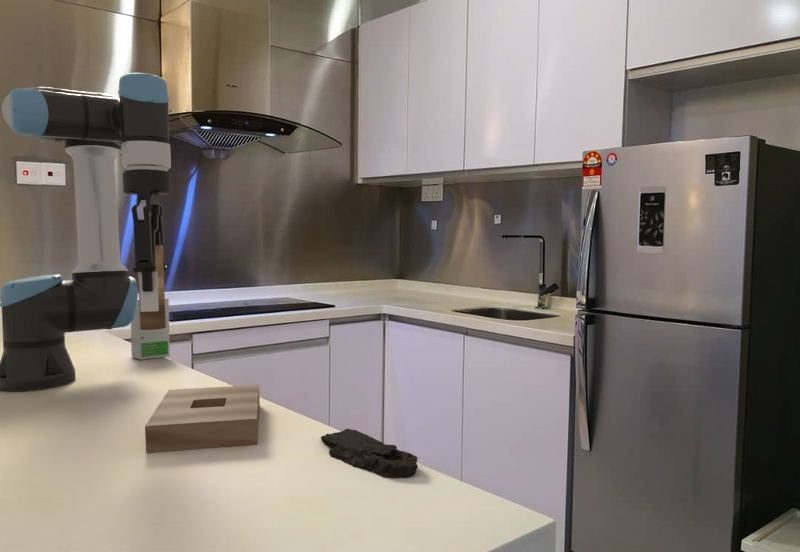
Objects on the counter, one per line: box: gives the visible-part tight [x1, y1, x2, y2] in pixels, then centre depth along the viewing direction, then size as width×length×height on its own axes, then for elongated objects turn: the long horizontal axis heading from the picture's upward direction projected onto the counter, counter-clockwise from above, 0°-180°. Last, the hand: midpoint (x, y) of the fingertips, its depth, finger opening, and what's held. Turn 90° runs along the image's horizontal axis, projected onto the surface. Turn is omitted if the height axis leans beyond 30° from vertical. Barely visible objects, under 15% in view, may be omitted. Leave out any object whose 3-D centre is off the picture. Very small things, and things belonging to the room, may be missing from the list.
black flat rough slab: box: [320, 428, 419, 479], centre depth 90 cm, size 22×7×3 cm, turn 36°
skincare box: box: [130, 297, 171, 360], centre depth 165 cm, size 8×7×16 cm
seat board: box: [144, 384, 261, 454], centre depth 105 cm, size 22×16×4 cm
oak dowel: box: [137, 245, 166, 330], centre depth 106 cm, size 4×4×14 cm
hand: (152, 309), depth 106 cm, fingers closed on oak dowel, 4 cm apart
